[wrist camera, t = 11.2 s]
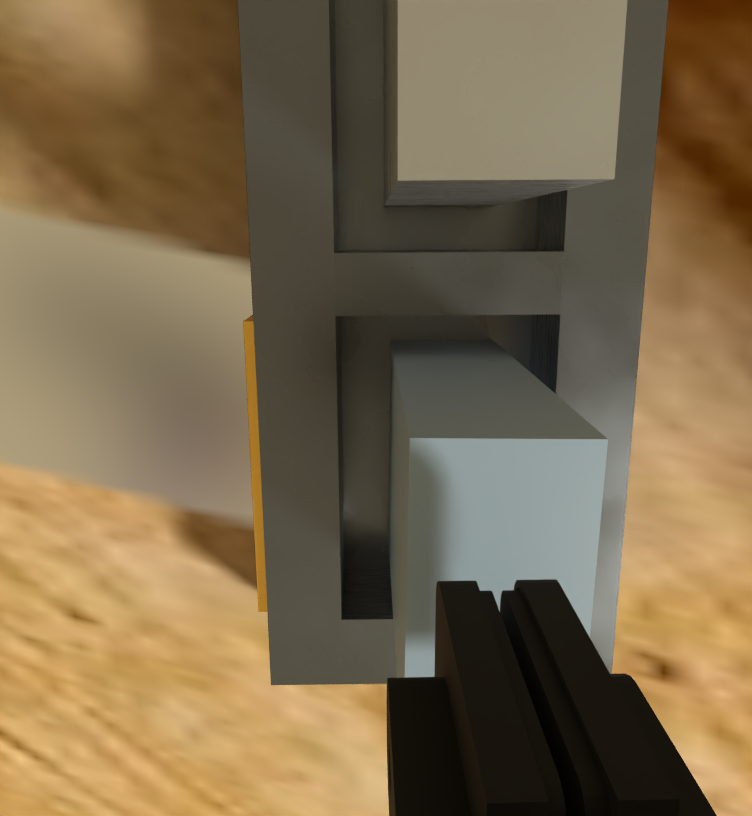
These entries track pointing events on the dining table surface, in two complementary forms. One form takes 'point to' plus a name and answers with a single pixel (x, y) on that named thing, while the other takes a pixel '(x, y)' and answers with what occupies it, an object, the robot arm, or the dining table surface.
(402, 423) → the block
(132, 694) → the dining table surface
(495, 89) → the rack
